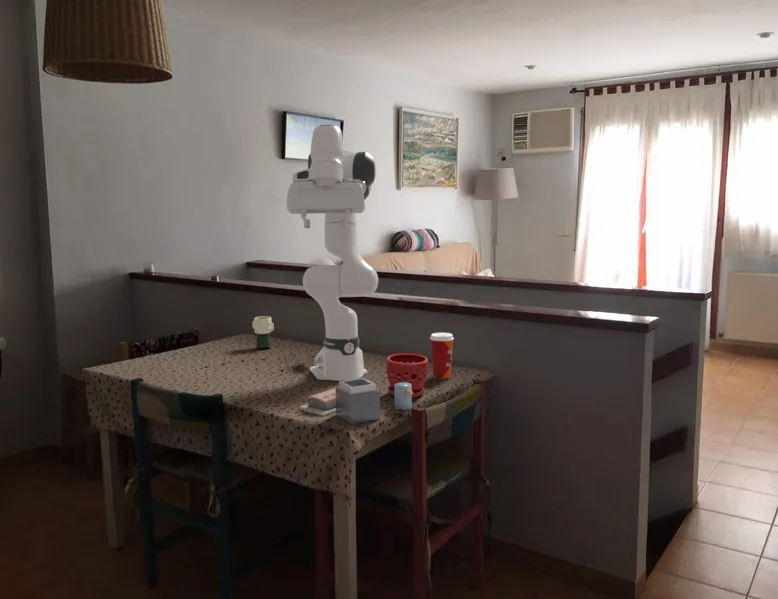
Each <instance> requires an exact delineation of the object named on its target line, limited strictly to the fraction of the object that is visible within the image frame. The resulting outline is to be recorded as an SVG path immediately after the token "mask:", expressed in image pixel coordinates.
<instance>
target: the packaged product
mask: <svg viewBox="0 0 778 599" xmlns="http://www.w3.org/2000/svg"><path fill="white" fill-rule="evenodd" d="M338 387H339V386H337V387H334V388H331V389H328V390H324V391H322V392H319V393H316V394H313V395H310V396H309V397H307V403H305V404H303V405H300V406H299V408H300V411H302V410H304V411H303V412H306V411H307V412H306V413H311V414H313V413H314V414H315V415H319V416H321V417H322V416H323V417H326V416H329V415H330V414H333V413H336V388H338ZM328 414H329V415H328Z"/></svg>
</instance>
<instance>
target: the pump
mask: <svg viewBox="0 0 778 599" xmlns="http://www.w3.org/2000/svg"><path fill="white" fill-rule="evenodd" d="M412 395H413V392H412V385H411V384H410V383H405V382H401V383H396V384H395V396H394V409H395V408H397V409H402V410H401V411H408V410H411V409H412V407H413V406H412V404H413V402H412V401H413V400H412V399H413V398H412ZM397 409H396V410H397Z"/></svg>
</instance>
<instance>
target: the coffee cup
mask: <svg viewBox="0 0 778 599" xmlns="http://www.w3.org/2000/svg"><path fill="white" fill-rule="evenodd" d="M453 336H454V335H453V333H450V332H434V333H432V334H431V335H430V338H429V340H430V345H431V366H432V376H433V378H434V377H435V378H434V379H436V378H441V379H440V380H444V379H443V378H448V379H450V378H451V377H452V361H453V344H454V343H453V342H454V339H455V338H454V337H453ZM449 377H450V378H449Z"/></svg>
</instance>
